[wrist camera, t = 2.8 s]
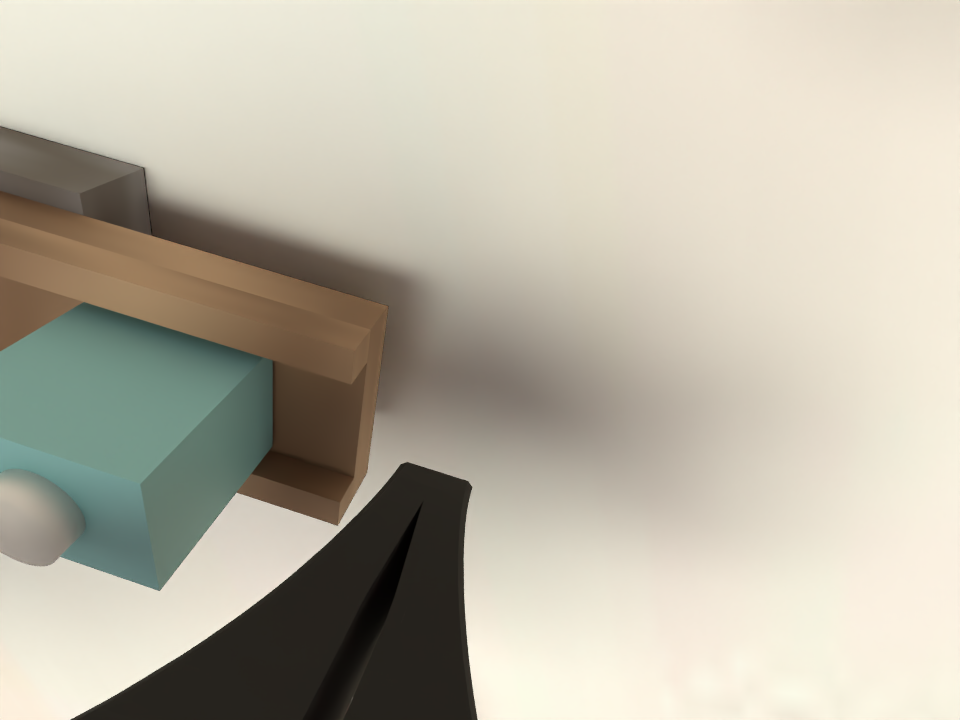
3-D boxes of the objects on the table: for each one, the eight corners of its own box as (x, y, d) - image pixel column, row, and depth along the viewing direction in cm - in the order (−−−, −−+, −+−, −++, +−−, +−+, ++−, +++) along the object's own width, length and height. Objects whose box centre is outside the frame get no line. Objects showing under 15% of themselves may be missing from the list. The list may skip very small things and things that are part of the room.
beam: (-159, 264, 19) (-319, 323, 16) (-255, 53, 15) (-485, 75, 12) (391, 436, 17) (336, 539, 14) (420, 248, 14) (357, 328, 11)
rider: (115, 396, 14) (-72, 547, 11) (95, 294, 13) (-134, 430, 9) (272, 446, 14) (136, 620, 10) (272, 348, 12) (112, 512, 9)
